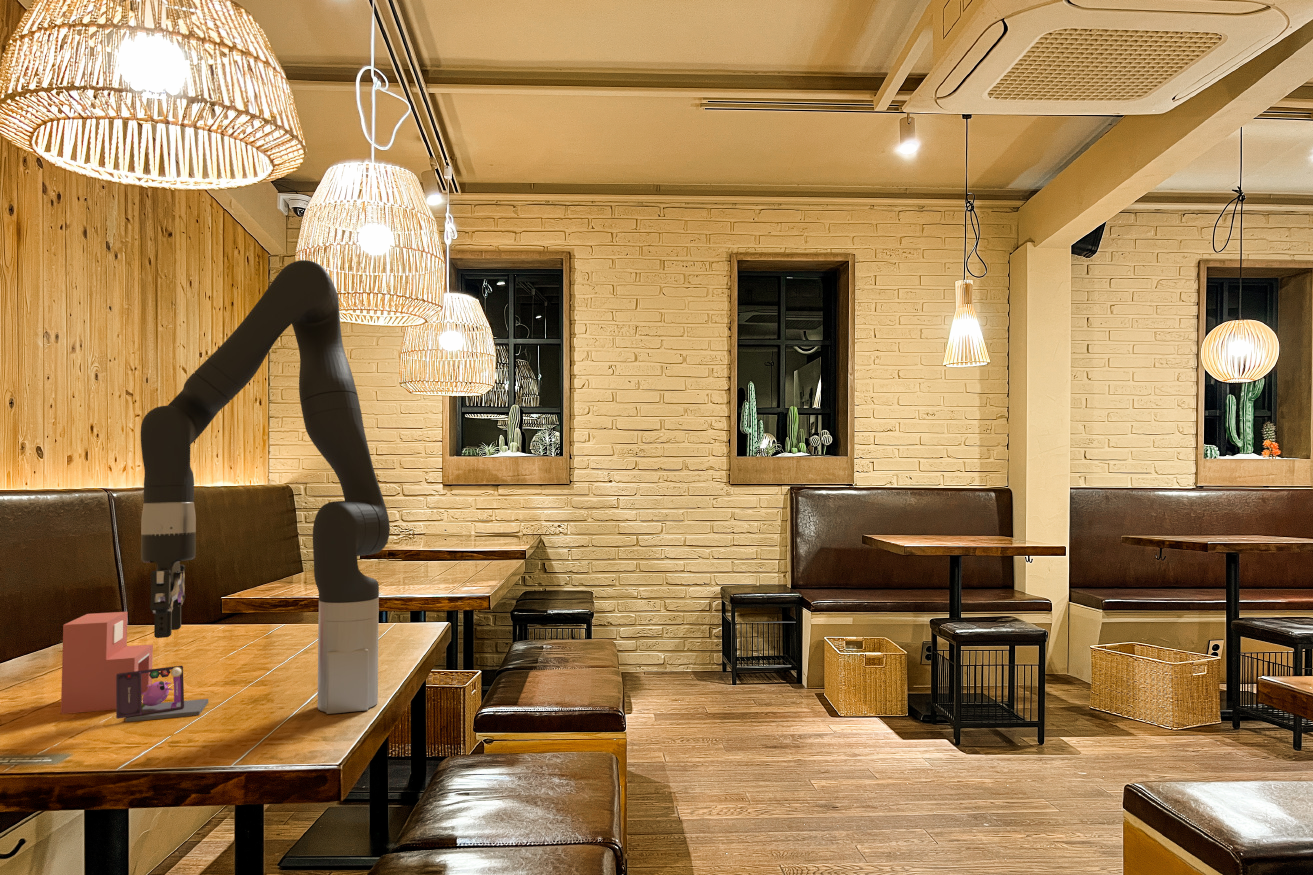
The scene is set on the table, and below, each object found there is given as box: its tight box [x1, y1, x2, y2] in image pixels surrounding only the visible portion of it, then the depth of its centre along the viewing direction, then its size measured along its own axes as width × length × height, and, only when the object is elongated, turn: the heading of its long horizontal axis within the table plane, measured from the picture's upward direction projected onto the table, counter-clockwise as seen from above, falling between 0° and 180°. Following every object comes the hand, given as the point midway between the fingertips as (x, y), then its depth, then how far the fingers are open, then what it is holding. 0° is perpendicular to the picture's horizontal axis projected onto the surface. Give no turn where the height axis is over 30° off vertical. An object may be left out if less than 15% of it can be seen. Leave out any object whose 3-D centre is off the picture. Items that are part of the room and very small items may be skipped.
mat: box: [124, 698, 209, 723], centre depth 131 cm, size 8×10×1 cm
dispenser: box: [60, 611, 154, 715], centre depth 138 cm, size 12×10×14 cm
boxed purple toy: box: [115, 665, 185, 719], centre depth 130 cm, size 7×5×9 cm
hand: (168, 633), depth 130 cm, fingers open, 8 cm apart
